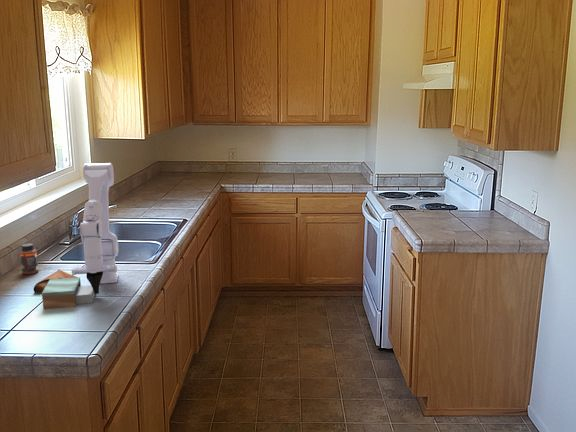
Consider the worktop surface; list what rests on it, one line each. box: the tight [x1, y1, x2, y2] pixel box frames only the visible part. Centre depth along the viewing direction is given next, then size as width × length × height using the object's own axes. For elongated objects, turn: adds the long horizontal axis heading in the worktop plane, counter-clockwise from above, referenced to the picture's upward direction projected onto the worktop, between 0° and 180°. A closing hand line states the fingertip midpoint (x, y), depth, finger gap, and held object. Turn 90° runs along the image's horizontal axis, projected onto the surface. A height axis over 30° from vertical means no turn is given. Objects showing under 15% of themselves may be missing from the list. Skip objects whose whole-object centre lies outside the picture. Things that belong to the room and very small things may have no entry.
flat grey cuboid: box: [75, 284, 96, 305], centre depth 189 cm, size 9×14×3 cm, turn 102°
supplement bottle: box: [19, 242, 40, 275], centre depth 216 cm, size 6×6×11 cm
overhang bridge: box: [41, 276, 82, 310], centre depth 188 cm, size 13×10×6 cm
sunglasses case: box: [33, 268, 78, 294], centre depth 203 cm, size 18×7×7 cm
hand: (96, 292), depth 191 cm, fingers closed
